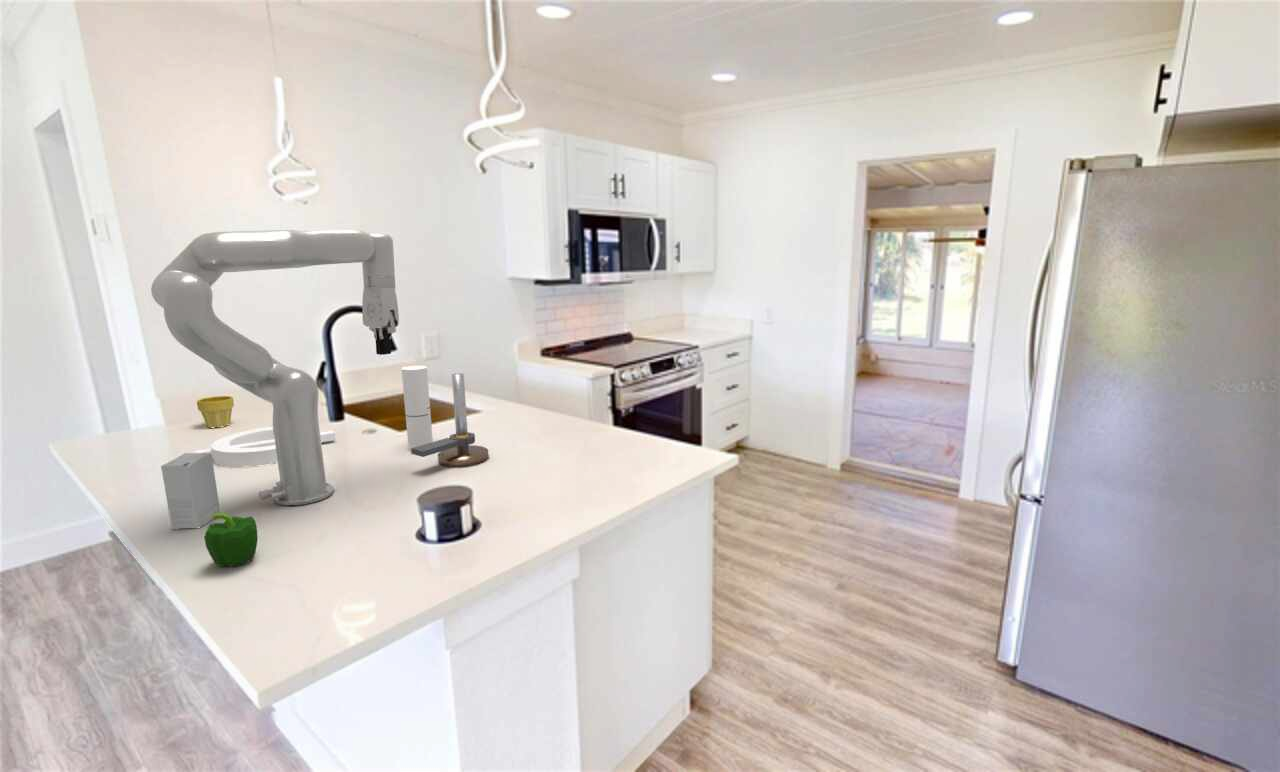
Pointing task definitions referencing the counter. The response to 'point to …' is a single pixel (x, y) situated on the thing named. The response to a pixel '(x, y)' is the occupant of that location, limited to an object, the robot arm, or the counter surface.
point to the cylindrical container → (417, 405)
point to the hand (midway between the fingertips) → (383, 353)
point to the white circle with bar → (250, 448)
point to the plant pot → (216, 410)
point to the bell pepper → (231, 540)
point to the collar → (443, 445)
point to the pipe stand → (461, 433)
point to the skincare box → (190, 490)
